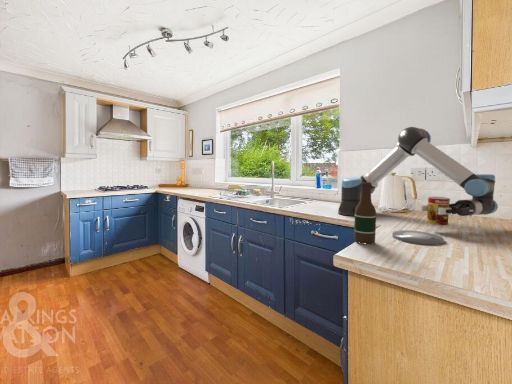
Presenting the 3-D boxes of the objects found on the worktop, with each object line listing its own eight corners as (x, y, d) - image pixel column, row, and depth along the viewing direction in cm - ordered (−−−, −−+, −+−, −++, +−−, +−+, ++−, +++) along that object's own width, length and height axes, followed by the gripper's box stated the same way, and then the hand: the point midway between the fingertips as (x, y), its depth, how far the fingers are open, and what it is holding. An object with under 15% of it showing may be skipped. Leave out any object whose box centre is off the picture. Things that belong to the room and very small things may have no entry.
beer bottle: (379, 244, 97) (382, 182, 95) (362, 245, 95) (365, 182, 93) (365, 238, 105) (367, 181, 103) (349, 240, 103) (351, 181, 100)
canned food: (438, 226, 109) (440, 199, 108) (422, 222, 117) (424, 196, 116) (452, 225, 111) (454, 198, 110) (435, 221, 119) (437, 196, 118)
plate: (386, 238, 104) (386, 235, 104) (399, 230, 117) (399, 228, 117) (439, 248, 92) (439, 244, 92) (446, 238, 105) (447, 235, 105)
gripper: (492, 219, 109) (452, 223, 103) (444, 211, 129) (409, 213, 122) (493, 202, 108) (454, 204, 102) (445, 197, 128) (410, 198, 122)
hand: (429, 209), depth 112 cm, fingers closed on canned food, 8 cm apart
